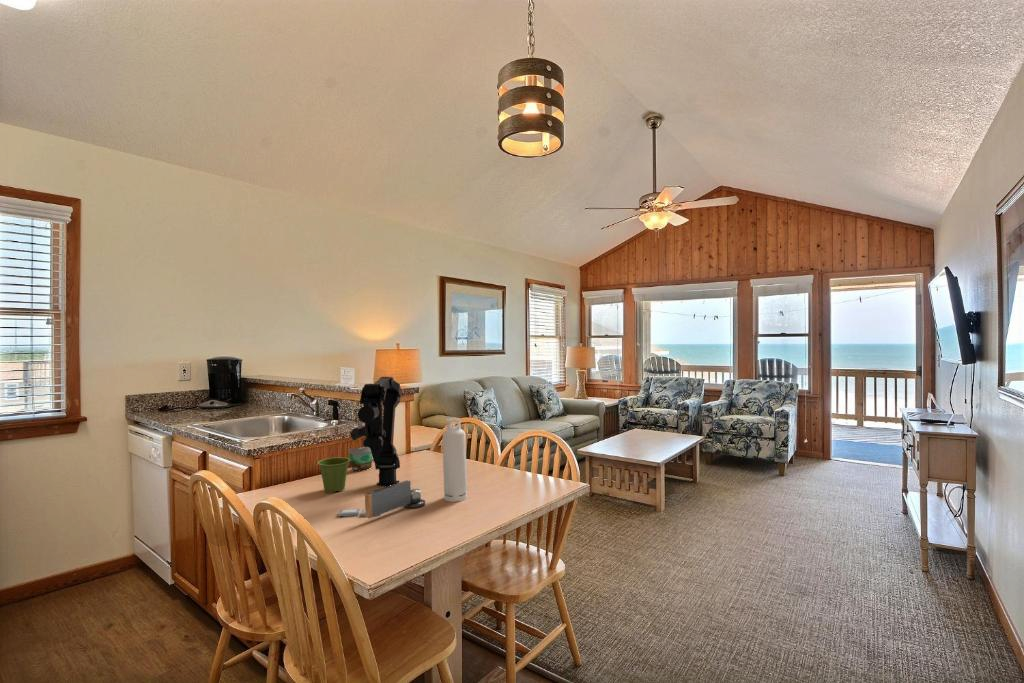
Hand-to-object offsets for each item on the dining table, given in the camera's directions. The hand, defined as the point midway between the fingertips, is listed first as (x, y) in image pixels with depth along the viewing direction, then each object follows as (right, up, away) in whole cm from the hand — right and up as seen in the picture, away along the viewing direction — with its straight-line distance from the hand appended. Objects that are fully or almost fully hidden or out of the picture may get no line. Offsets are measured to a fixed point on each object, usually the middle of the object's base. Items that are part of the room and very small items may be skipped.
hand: (375, 461), depth 180 cm
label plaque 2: (+3, -13, -17) cm, 22 cm away
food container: (-16, -13, +40) cm, 45 cm away
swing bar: (+11, -12, -17) cm, 23 cm away
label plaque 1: (-4, -13, -17) cm, 22 cm away
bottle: (+29, -13, -3) cm, 32 cm away
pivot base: (+16, -13, -10) cm, 23 cm away
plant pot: (-18, -14, +10) cm, 25 cm away
